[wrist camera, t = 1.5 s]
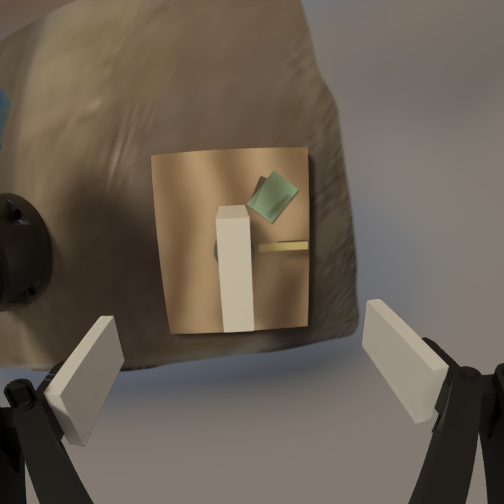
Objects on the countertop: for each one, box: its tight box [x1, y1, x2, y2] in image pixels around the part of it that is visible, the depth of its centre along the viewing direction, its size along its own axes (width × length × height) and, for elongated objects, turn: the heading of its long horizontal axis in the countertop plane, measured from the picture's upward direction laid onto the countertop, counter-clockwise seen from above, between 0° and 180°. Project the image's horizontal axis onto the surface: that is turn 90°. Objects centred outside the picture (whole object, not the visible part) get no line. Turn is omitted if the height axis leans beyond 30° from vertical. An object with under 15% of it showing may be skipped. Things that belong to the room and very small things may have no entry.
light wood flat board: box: [151, 148, 309, 334], centre depth 34 cm, size 16×20×2 cm
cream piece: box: [214, 205, 308, 332], centre depth 29 cm, size 10×9×10 cm
